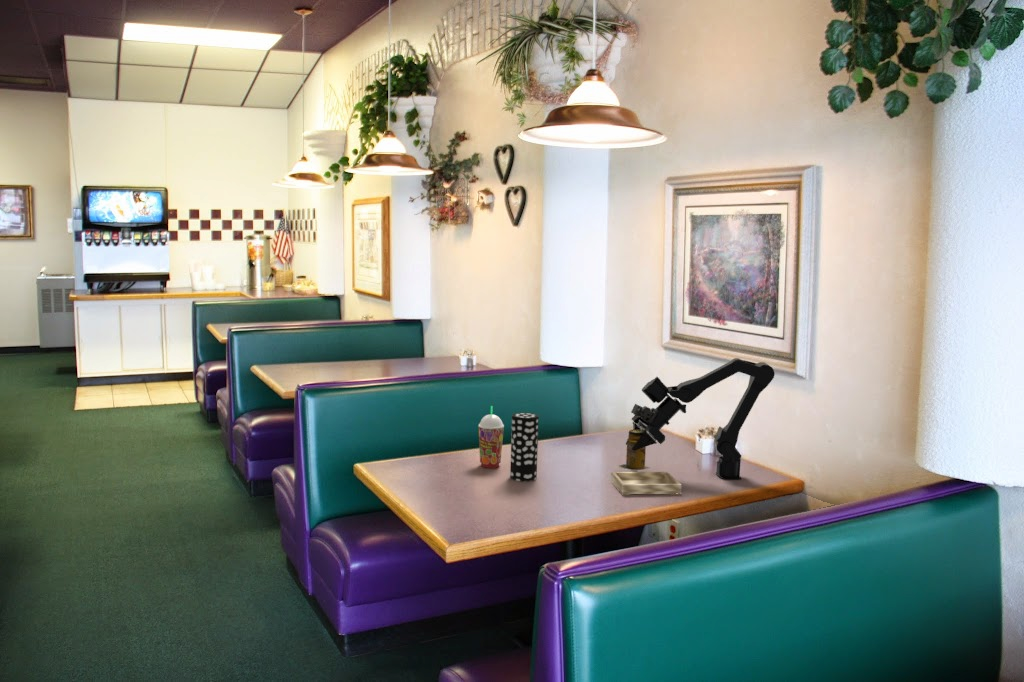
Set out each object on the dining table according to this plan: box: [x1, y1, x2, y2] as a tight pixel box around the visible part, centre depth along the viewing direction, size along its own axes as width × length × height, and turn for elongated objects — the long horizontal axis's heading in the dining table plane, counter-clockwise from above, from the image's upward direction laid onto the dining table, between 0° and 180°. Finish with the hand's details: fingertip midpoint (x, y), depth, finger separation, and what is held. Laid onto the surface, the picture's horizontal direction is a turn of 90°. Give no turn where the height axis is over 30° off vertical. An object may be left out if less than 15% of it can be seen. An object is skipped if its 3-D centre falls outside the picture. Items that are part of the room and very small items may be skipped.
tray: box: [610, 471, 682, 496], centre depth 266 cm, size 18×14×3 cm
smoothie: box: [477, 405, 505, 469], centre depth 284 cm, size 8×8×20 cm
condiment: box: [616, 429, 650, 472], centre depth 279 cm, size 7×8×12 cm
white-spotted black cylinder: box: [509, 412, 540, 482], centre depth 271 cm, size 8×8×20 cm
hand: (629, 447), depth 279 cm, fingers closed on condiment, 6 cm apart
